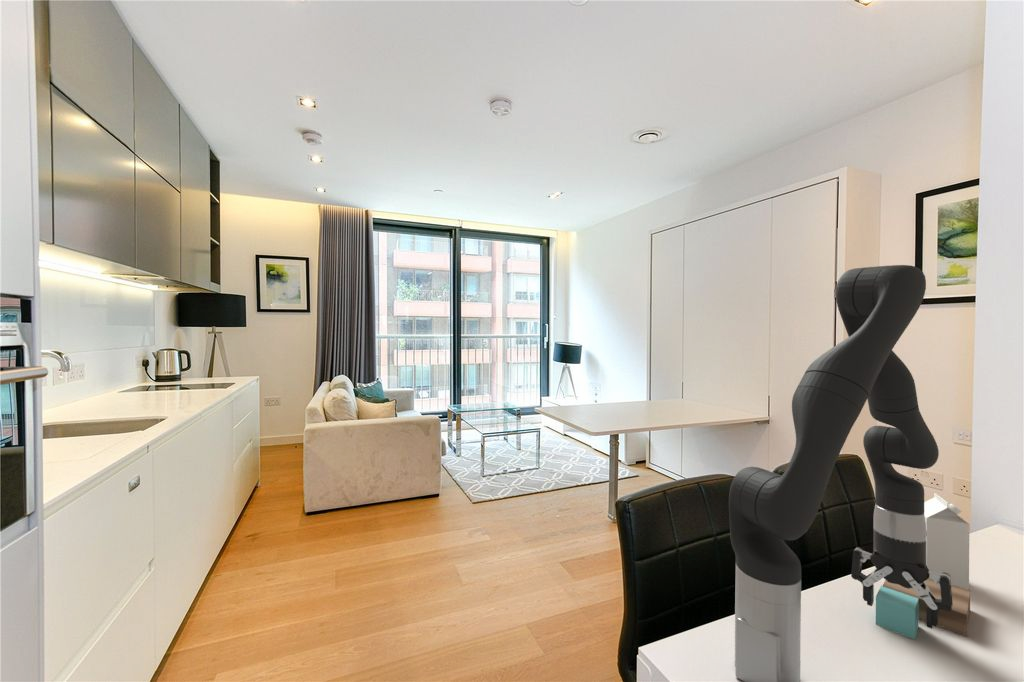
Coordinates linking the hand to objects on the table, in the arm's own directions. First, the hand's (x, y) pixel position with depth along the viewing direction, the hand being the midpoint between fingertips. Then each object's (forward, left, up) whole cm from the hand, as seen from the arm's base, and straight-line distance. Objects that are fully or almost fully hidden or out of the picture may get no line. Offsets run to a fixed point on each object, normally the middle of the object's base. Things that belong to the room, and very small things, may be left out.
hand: (899, 614), depth 81 cm
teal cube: (0, 0, -2) cm, 2 cm away
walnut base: (+12, -3, -2) cm, 12 cm away
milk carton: (+29, -4, -2) cm, 29 cm away
